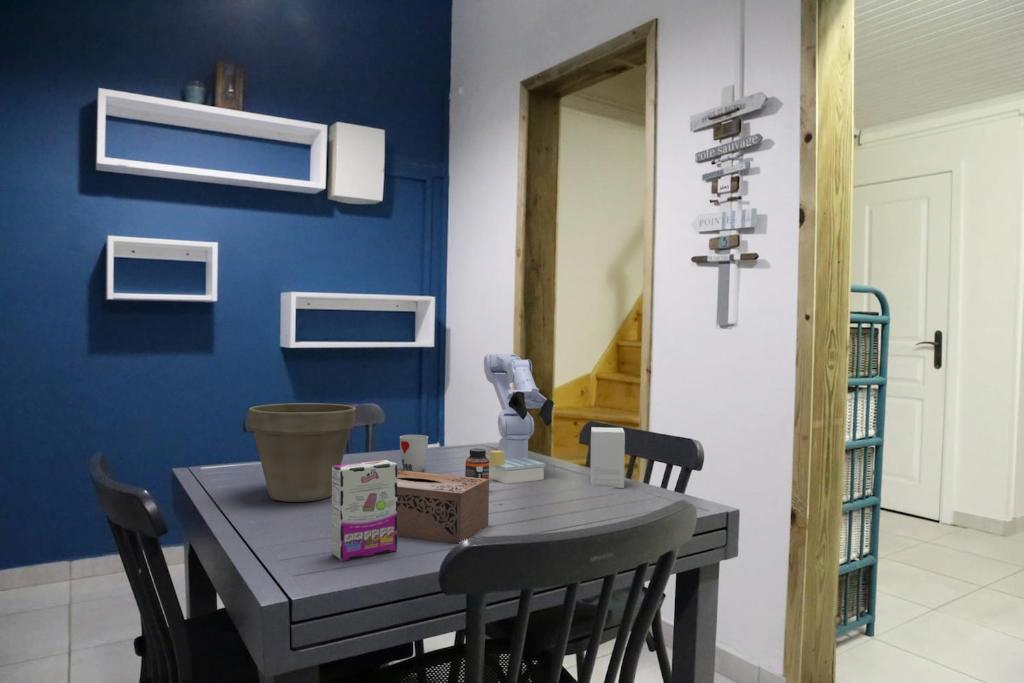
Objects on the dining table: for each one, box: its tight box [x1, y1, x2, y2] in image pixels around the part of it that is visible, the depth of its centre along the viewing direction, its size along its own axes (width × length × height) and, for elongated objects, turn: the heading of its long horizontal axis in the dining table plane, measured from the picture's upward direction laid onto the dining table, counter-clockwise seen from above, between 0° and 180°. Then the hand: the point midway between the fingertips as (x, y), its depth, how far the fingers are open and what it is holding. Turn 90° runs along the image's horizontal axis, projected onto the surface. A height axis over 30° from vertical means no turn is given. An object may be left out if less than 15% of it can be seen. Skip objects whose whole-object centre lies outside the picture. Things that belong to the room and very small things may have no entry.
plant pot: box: [248, 402, 357, 503], centre depth 174 cm, size 25×25×22 cm
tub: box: [489, 465, 545, 485], centre depth 196 cm, size 9×12×4 cm
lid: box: [488, 449, 546, 471], centre depth 195 cm, size 10×14×4 cm
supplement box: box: [589, 426, 626, 489], centre depth 194 cm, size 9×9×15 cm
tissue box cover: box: [397, 469, 490, 544], centre depth 149 cm, size 26×14×10 cm, turn 70°
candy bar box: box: [331, 459, 398, 562], centre depth 131 cm, size 11×5×16 cm, turn 126°
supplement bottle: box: [464, 447, 490, 480], centre depth 179 cm, size 6×6×11 cm
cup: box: [399, 434, 429, 473], centre depth 205 cm, size 8×8×10 cm
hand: (536, 419), depth 192 cm, fingers open, 7 cm apart
